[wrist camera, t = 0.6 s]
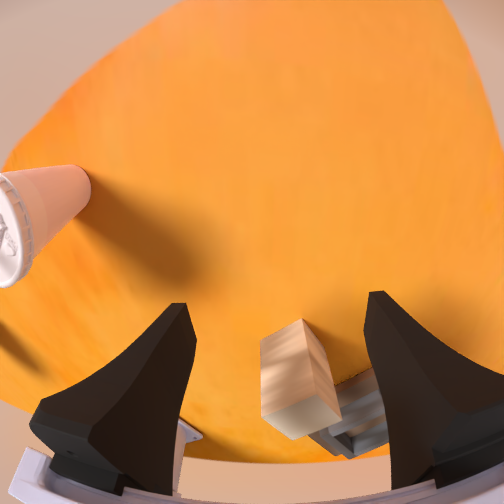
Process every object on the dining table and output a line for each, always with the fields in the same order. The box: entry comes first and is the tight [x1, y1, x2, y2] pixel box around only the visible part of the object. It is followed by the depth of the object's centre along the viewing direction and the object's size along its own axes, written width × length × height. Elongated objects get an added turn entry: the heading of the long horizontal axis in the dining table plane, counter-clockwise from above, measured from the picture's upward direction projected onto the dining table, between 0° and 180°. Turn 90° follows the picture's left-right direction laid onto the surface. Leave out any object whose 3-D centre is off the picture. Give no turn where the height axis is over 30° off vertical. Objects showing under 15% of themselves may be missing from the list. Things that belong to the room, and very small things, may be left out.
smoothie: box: [0, 165, 91, 288], centre depth 13 cm, size 6×6×14 cm
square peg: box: [260, 318, 342, 440], centre depth 22 cm, size 4×4×8 cm
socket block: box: [308, 367, 389, 459], centre depth 28 cm, size 13×13×4 cm
